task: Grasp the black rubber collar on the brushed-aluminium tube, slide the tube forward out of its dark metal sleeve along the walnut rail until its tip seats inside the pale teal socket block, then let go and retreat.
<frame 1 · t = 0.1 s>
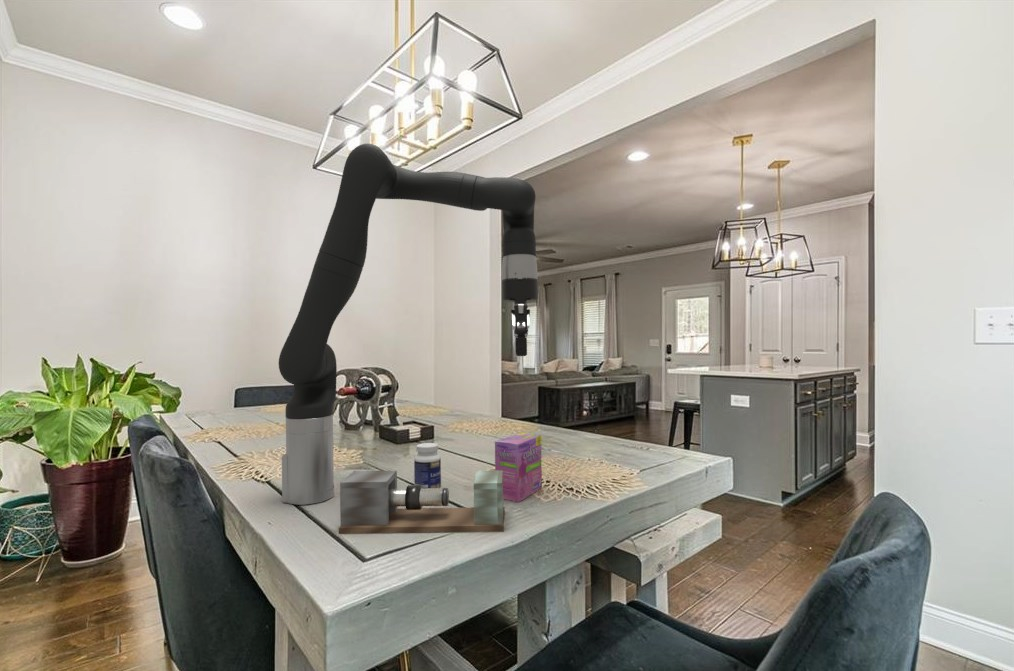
hand: (521, 355, 99), 29 cm above the table, fingers open, 8 cm apart
box: (519, 494, 99), on the table
pill bottle: (427, 491, 103), on the table
tube: (397, 497, 84), point 4 cm above the table, slide at 0.0 cm
rail base: (425, 522, 84), on the table
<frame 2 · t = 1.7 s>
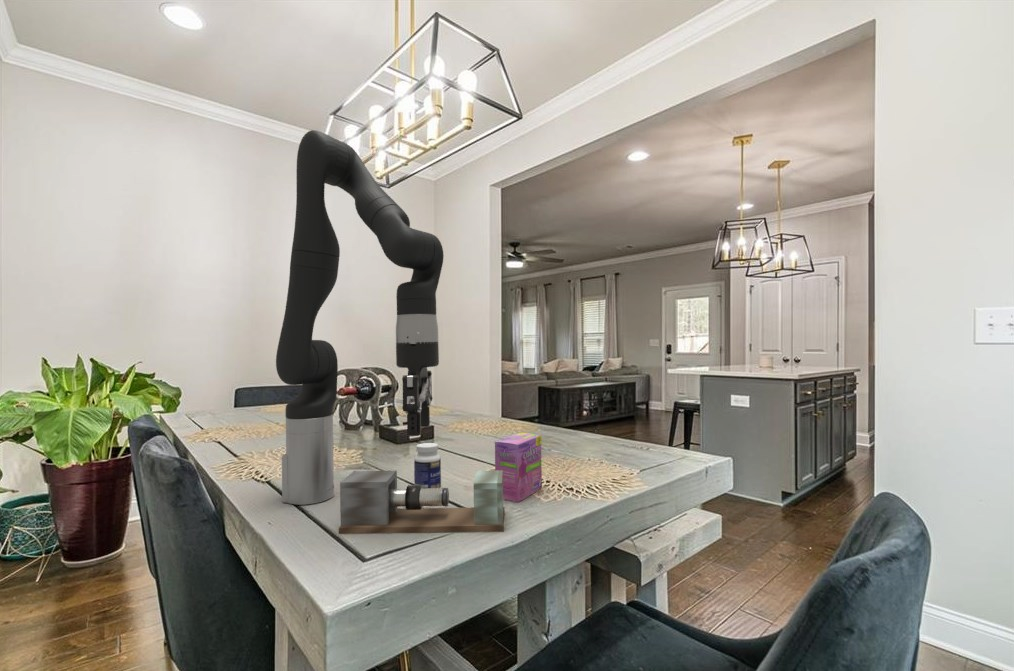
hand: (419, 430, 84), 16 cm above the table, fingers open, 8 cm apart
nothing on the table moved.
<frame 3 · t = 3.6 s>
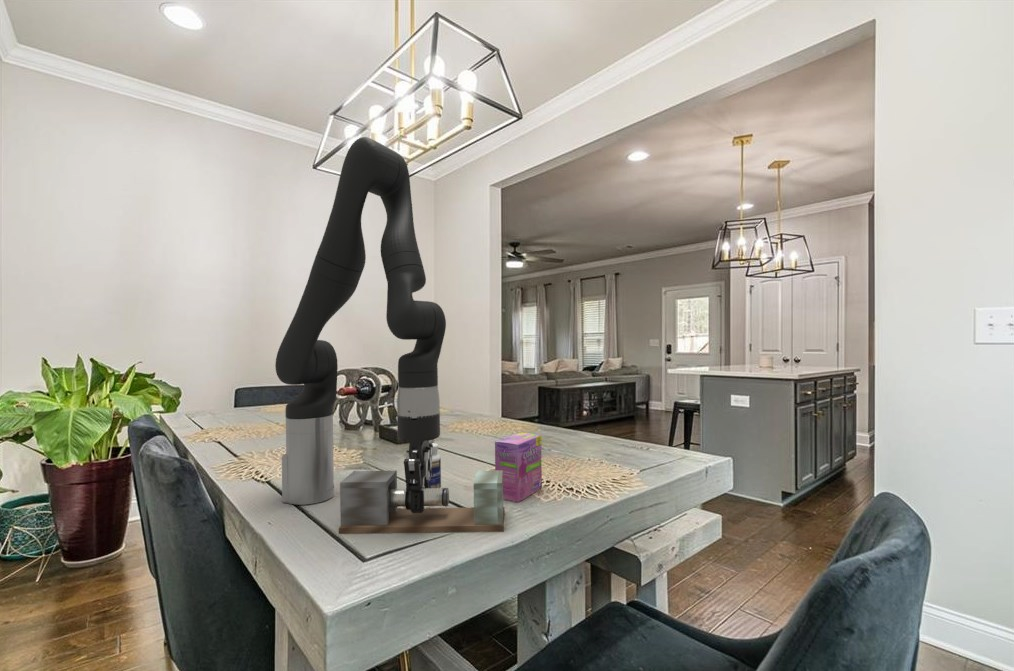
hand: (420, 507, 84), 3 cm above the table, fingers closed on tube, 4 cm apart
tube: (397, 497, 84), point 4 cm above the table, slide at 0.0 cm, touching gripper
everything else where it was.
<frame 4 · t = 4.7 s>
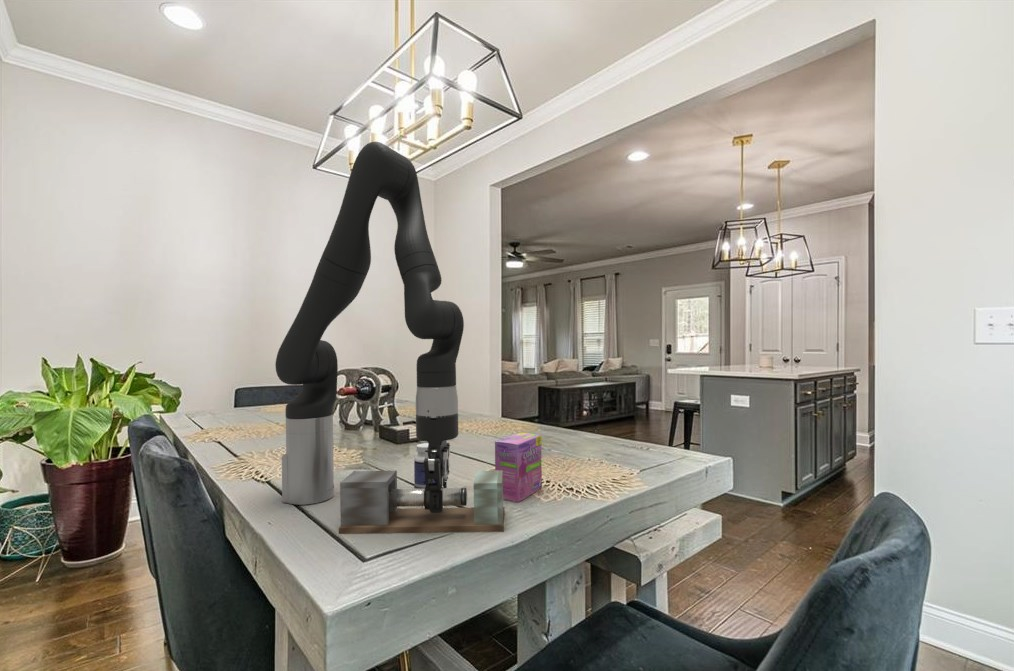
hand: (438, 506, 84), 3 cm above the table, fingers closed on tube, 4 cm apart
tube: (416, 497, 84), point 5 cm above the table, slide at 3.3 cm, touching gripper
everything else where it was.
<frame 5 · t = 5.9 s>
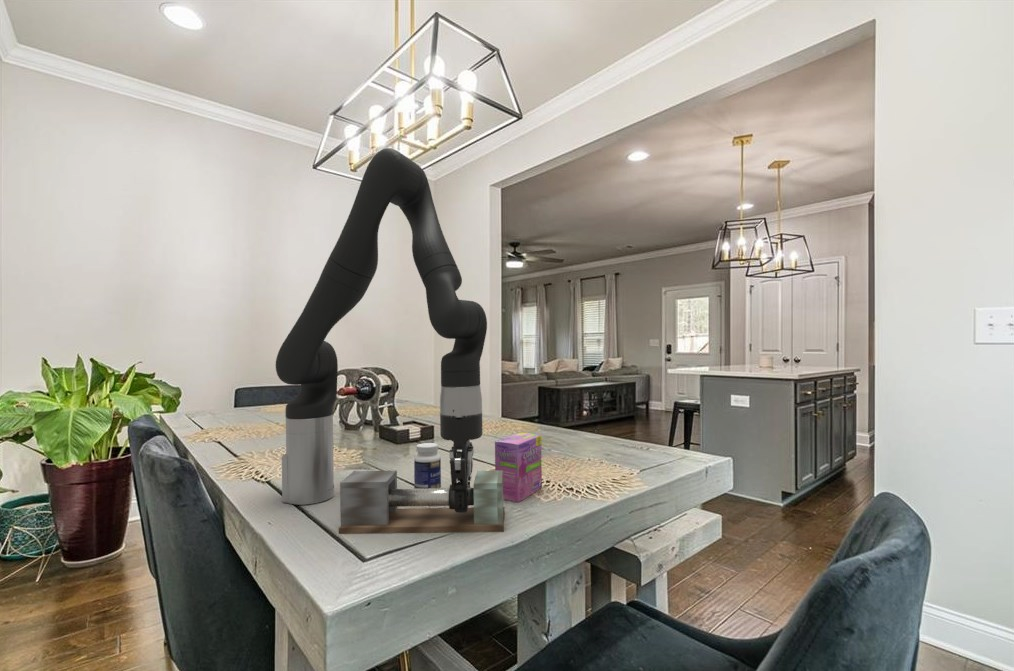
hand: (462, 506, 84), 3 cm above the table, fingers closed on tube, 4 cm apart
tube: (440, 497, 84), point 4 cm above the table, slide at 7.6 cm, touching gripper
everything else where it was.
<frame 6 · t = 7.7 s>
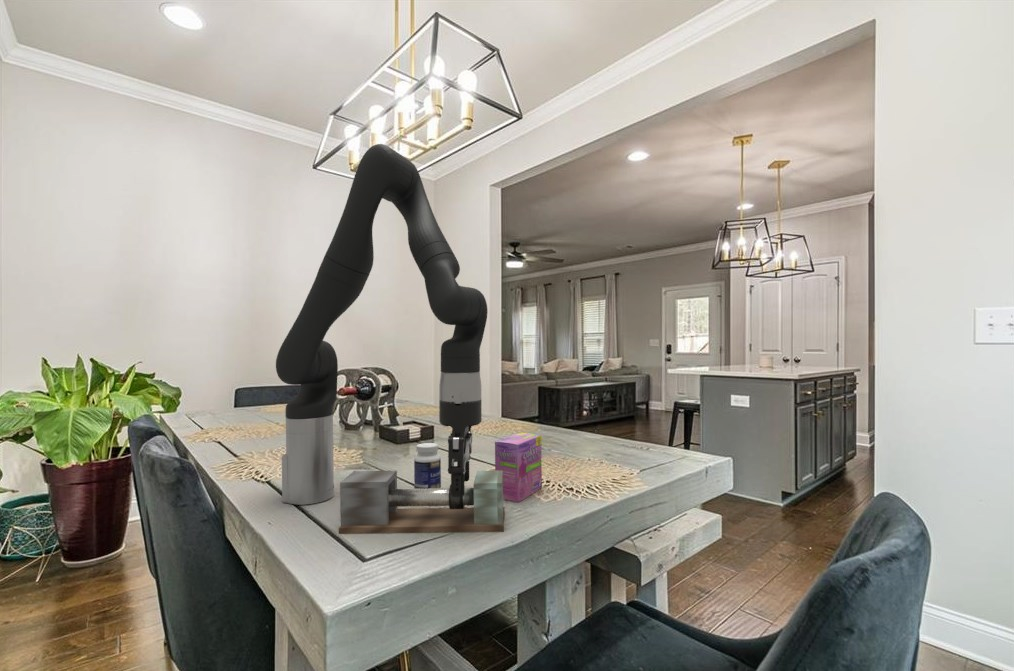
hand: (460, 488, 84), 6 cm above the table, fingers open, 8 cm apart
tube: (440, 497, 84), point 5 cm above the table, slide at 7.7 cm
everything else where it was.
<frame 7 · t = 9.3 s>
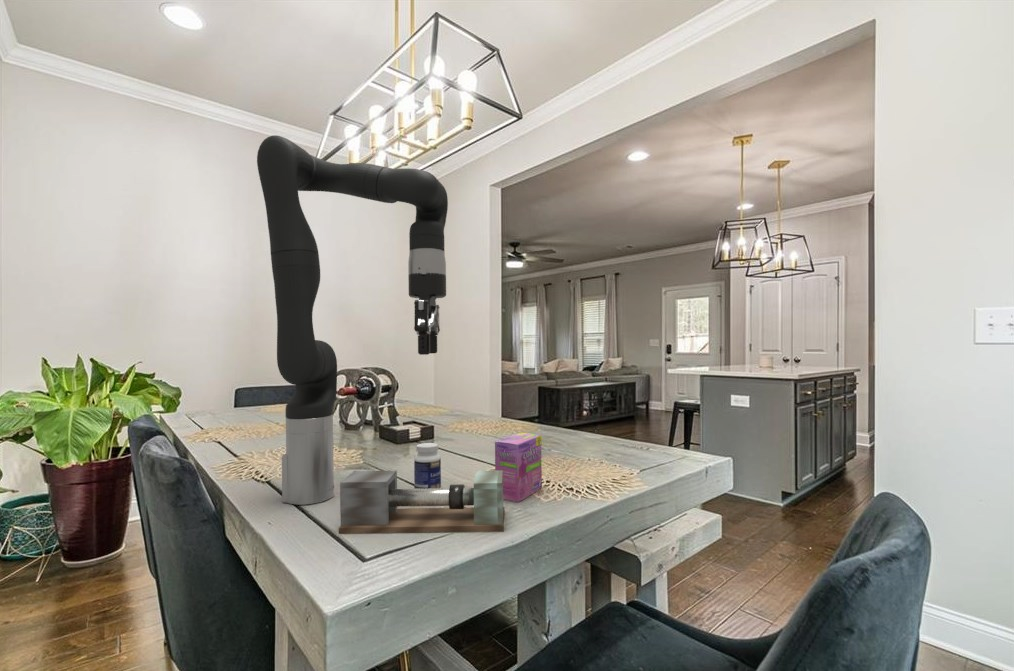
hand: (428, 353, 95), 30 cm above the table, fingers open, 8 cm apart
nothing on the table moved.
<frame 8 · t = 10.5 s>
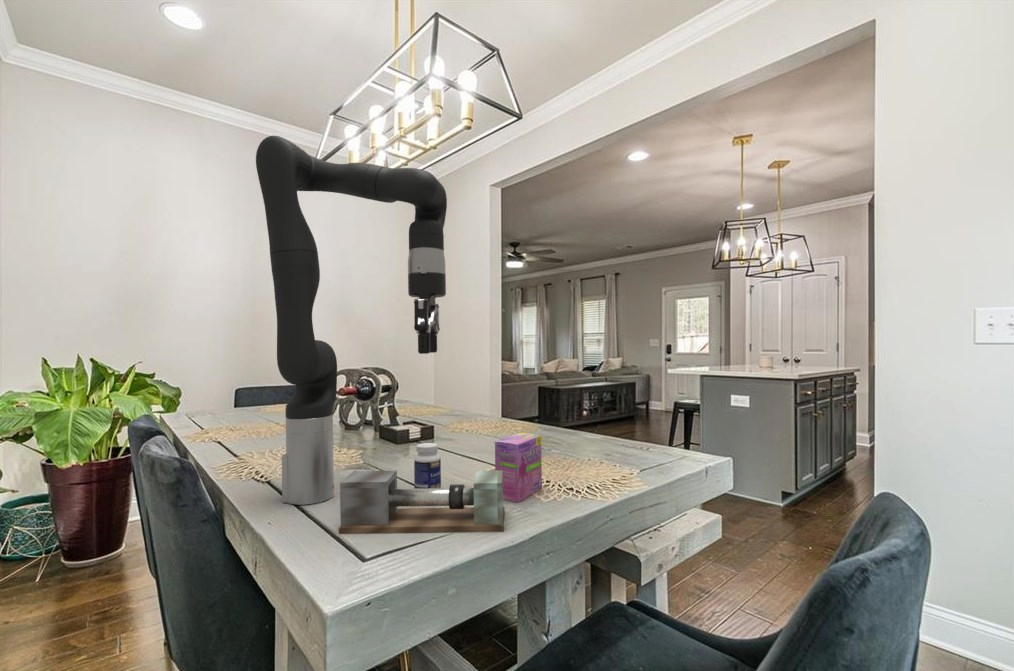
hand: (428, 353, 95), 30 cm above the table, fingers open, 8 cm apart
nothing on the table moved.
at the end: tube slide at 7.7 cm; the gripper is holding nothing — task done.
